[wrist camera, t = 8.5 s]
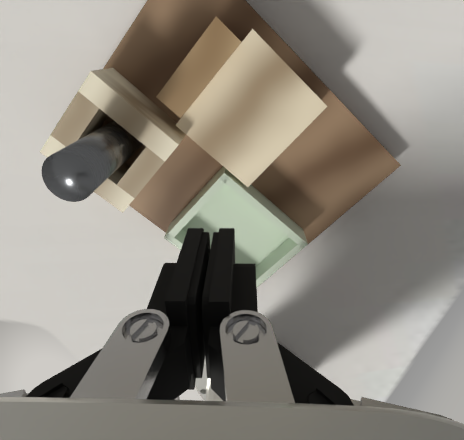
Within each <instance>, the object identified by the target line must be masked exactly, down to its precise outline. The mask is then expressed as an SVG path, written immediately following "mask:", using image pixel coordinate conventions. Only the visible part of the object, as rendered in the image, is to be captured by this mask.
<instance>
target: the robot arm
mask: <svg viewBox="0 0 464 440" xmlns="http://www.w3.org/2000/svg"><path fill="white" fill-rule="evenodd" d="M195 386H196V389H197V391H198V393H199V394H200V396H201V397H202V398H203V399H204V400H205V401H193V400H180V399H179V396H180V395H181V394H182V393H183V392H185V391H186V390H187V389H192V390H194V388H195ZM0 440H464V424H462V423H459V422H456V421H454V420H452V419H449V418H447V417H444V416H441V415H437V414H433V413H429V412H424V411H420V410H416V409H411V408H407V407H403V406H398V405H394V404H390V403H385V402H381V401H377V400H372V399H368V398H364V397H362V398H361V401H356V400H352V399H350V398H349V396H348V395H347V394H346V393H345V392H343V391H342V390H341V389H340V388H339V387H337V386H336V385H335V384H333V383H332V382H331V381H329V380H328V379H326V378H325V377H324V376H322V375H321V374H320V373H318V372H317V371H315V370H314V369H313V368H311V367H310V366H309V365H307V364H306V363H305V362H303V361H302V360H300V359H299V358H298V357H296V356H295V355H294V354H292V353H291V352H289V351H288V350H287V349H285V348H284V347H283V346H281V345H280V344H278V343H277V341H276V337H275V334H274V331H273V327H272V325H271V323H270V321H269V320H268V319H267V318H266V317H265V316H264V315H262V314H260V313H258V312H257V289H256V266H255V264H243V263H235V229H234V228H219V232H213V238H212V243H211V249H210V234H209V232H204V229H203V228H188V229H187V233H186V236H185V239H184V242H183V245H182V248H181V251H180V254H179V258H178V261H177V263H165V264H164V265H163V267H162V270H161V273H160V275H159V278H158V281H157V283H156V286H155V289H154V291H153V294H152V297H151V299H150V302H149V305H148V307H147V309H143V310H138V311H136V312H133V313H131V314H129V315H128V316H126V317H125V318H123V320H122V321H121V322H120V323H119V324H118V326H117V327H116V329H115V330H114V332H113V333H112V335H111V336H110V338H109V339H108V341H107V342H106V344H105V345H104V347H103V348H102V349H101V350H99V351H97V352H95V353H94V354H92V355H90V356H88V357H87V358H85V359H83V360H81V361H80V362H78V363H76V364H75V365H72V366H71V367H69V368H67V369H65V370H64V371H62V372H60V373H58V374H57V375H55V376H53V377H51V378H50V379H48V380H46V381H44V382H43V383H41V384H40V385H39V386H37V387H35V388H34V389H33V390H32V391H31V392H30V393H28V394H26V392H25V390H19V391H14V392H8V393H3V394H0Z"/></svg>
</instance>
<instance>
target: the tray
mask: <svg viewBox="0 0 464 440" xmlns="http://www.w3.org/2000/svg"><path fill="white" fill-rule="evenodd" d="M188 228H203V229H204V232H209V234H210V249H211V243H212V238H213V232H219V228H234V229H235V263H243V264H255V266H256V288H257V287H258V286H259V285H260V284H262V283H263V282H264V281H265V280H266V279H267V278H269V277H270V276H271V275H272V274H273V273H275V272H276V271H277V270H278V269H279V268H280V267H282V266H283V265H284V264H285V263H286V262H287V261H289V260H290V259H291V258H292V257H293V256H295V255H296V254H297V253H298V252H299V251H300V250H302V249H303V248H304V247H305V246H306V245H307V244H308V243H307V240H306V236H305V233H304V230H303V229H302V228H301V227H300V226H298V225H297V224H296V223H295V222H294V221H293V220H292V219H290V218H289V217H288V216H287V215H286V214H285V213H283V212H282V211H281V210H280V209H279V208H278V207H276V206H275V205H274V204H273V203H272V202H271V201H270V200H268V199H267V198H266V197H265V196H264V195H263V194H261V193H260V192H259V191H258V190H257V189H256V188H255V187H253V186H252V185H250V186H249V187H247V186H246V185H244V184H243V183H242V182H241V181H240V180H239V179H237V178H236V177H235V176H234V175H233V174H232V173H230V172H229V171H228V170H227V169H226V168H225V167H222V168H221V169H220V170H219V171H218V172H217V173H216V174H215V175H214V176H213V178H212V179H211V180H210V181H209V182H208V183H207V184H206V185H205V186H204V187H203V188H202V190H201V191H200V192H199V193H198V194H197V195H196V196H195V197H194V198H193V199H192V200H191V202H190V203H189V204H188V205H187V206H186V207H185V208H184V209H183V210H182V211H181V213H180V214H179V215H178V216H177V217H176V218H175V219H174V220H173V221H172V222H171V223H170V225H169V227H168V230H167V232H166V234H165V237H164V238H165V239H166V240H168V241H169V242H170V243H172V244H173V245H174V246H176V247H177V248H178V249H180V250H181V248H182V245H183V242H184V239H185V236H186V233H187V229H188Z"/></svg>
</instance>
